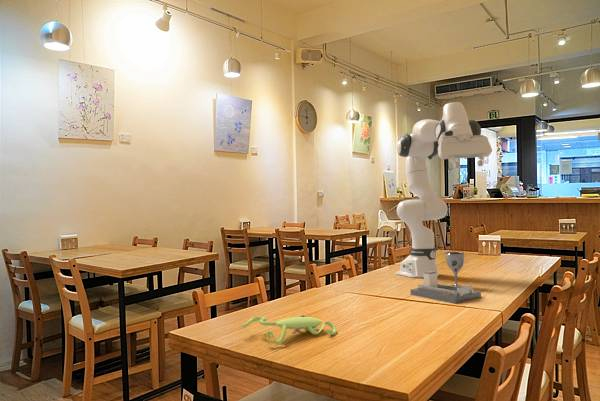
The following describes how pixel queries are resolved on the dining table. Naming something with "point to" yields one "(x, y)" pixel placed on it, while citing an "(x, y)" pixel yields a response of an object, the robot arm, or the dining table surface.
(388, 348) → the dining table surface
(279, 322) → the figurine
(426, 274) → the fader tab
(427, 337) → the dining table surface
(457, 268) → the wine glass
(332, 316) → the dining table surface
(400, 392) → the dining table surface
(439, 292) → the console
